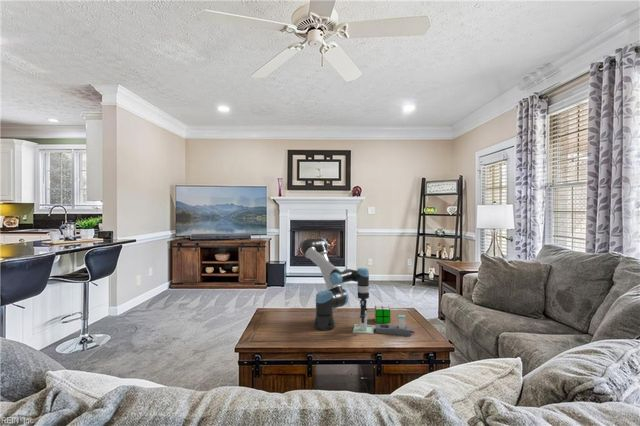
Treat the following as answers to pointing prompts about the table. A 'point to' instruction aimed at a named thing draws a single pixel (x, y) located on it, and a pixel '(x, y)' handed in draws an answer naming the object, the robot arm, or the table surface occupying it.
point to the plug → (365, 322)
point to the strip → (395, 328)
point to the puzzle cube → (382, 314)
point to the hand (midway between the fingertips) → (363, 323)
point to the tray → (369, 331)
